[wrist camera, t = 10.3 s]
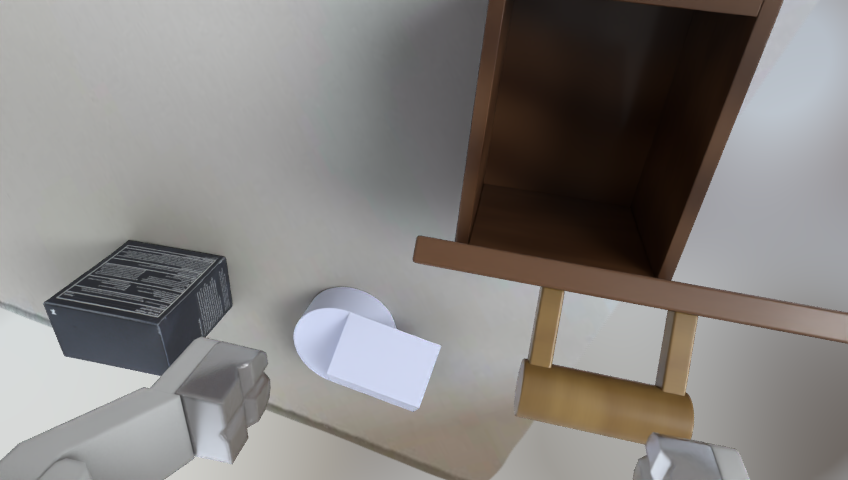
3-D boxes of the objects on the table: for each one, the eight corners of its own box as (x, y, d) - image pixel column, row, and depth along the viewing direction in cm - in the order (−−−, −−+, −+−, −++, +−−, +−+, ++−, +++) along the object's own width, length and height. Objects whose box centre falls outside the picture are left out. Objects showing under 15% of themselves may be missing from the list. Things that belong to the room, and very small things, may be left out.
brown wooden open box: (507, -36, 33) (493, -33, 24) (713, -14, 31) (784, -1, 22) (473, 186, 41) (452, 254, 31) (636, 213, 39) (666, 293, 30)
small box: (141, 291, 54) (60, 359, 45) (127, 237, 51) (37, 299, 42) (234, 309, 52) (170, 383, 43) (226, 255, 49) (156, 322, 40)
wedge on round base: (447, 322, 48) (316, 273, 48) (434, 372, 42) (285, 317, 42) (420, 386, 52) (301, 342, 53) (405, 440, 46) (271, 389, 47)
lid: (416, 234, 15) (384, 407, 15) (894, 320, 13) (864, 515, 13) (452, 251, 31) (438, 333, 31) (669, 291, 29) (654, 377, 29)
